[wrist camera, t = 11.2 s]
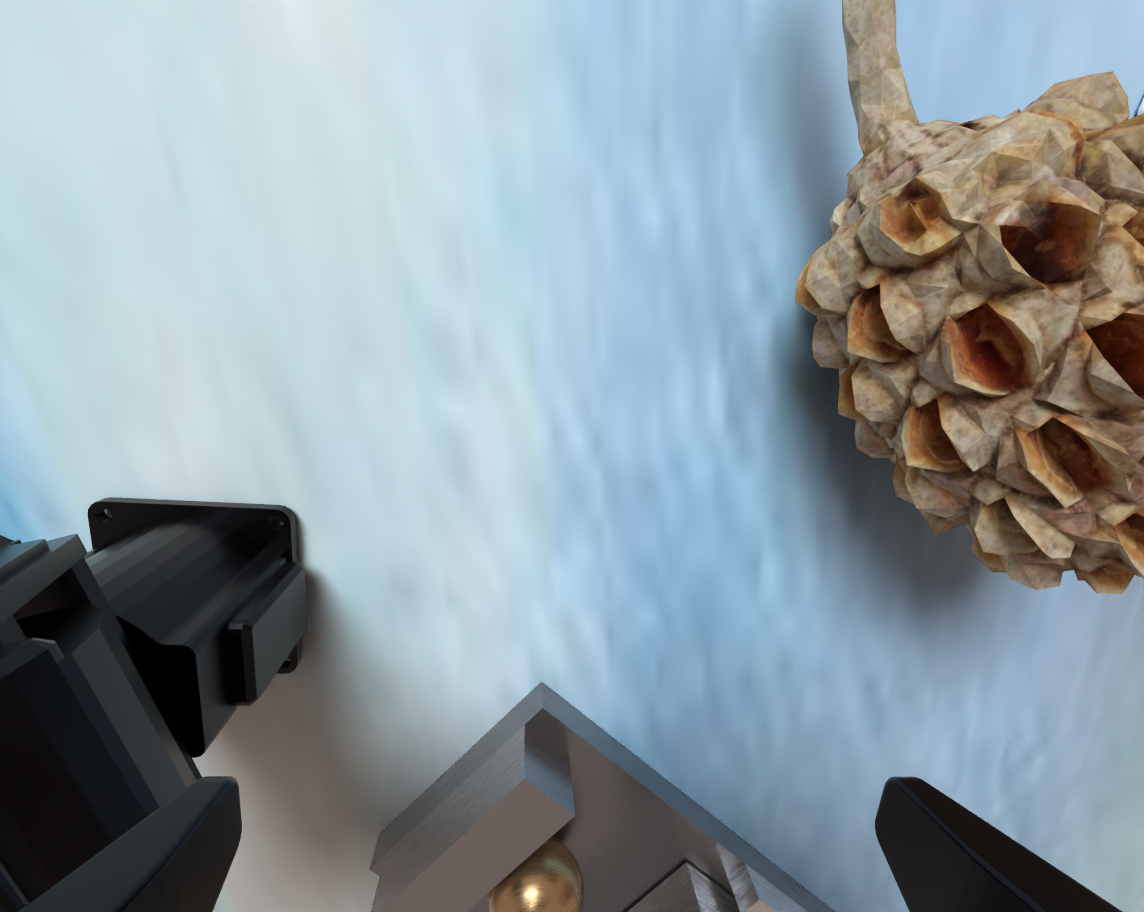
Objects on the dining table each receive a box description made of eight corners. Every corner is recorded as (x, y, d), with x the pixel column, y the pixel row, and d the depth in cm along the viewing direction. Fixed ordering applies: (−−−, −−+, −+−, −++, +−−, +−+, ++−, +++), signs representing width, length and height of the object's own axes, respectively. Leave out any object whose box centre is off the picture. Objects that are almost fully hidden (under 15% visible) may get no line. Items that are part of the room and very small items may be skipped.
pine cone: (1074, 428, 21) (1528, 523, 12) (854, 553, 22) (1113, 742, 12) (861, -220, 15) (1409, -1084, 6) (571, -28, 16) (641, -529, 6)
